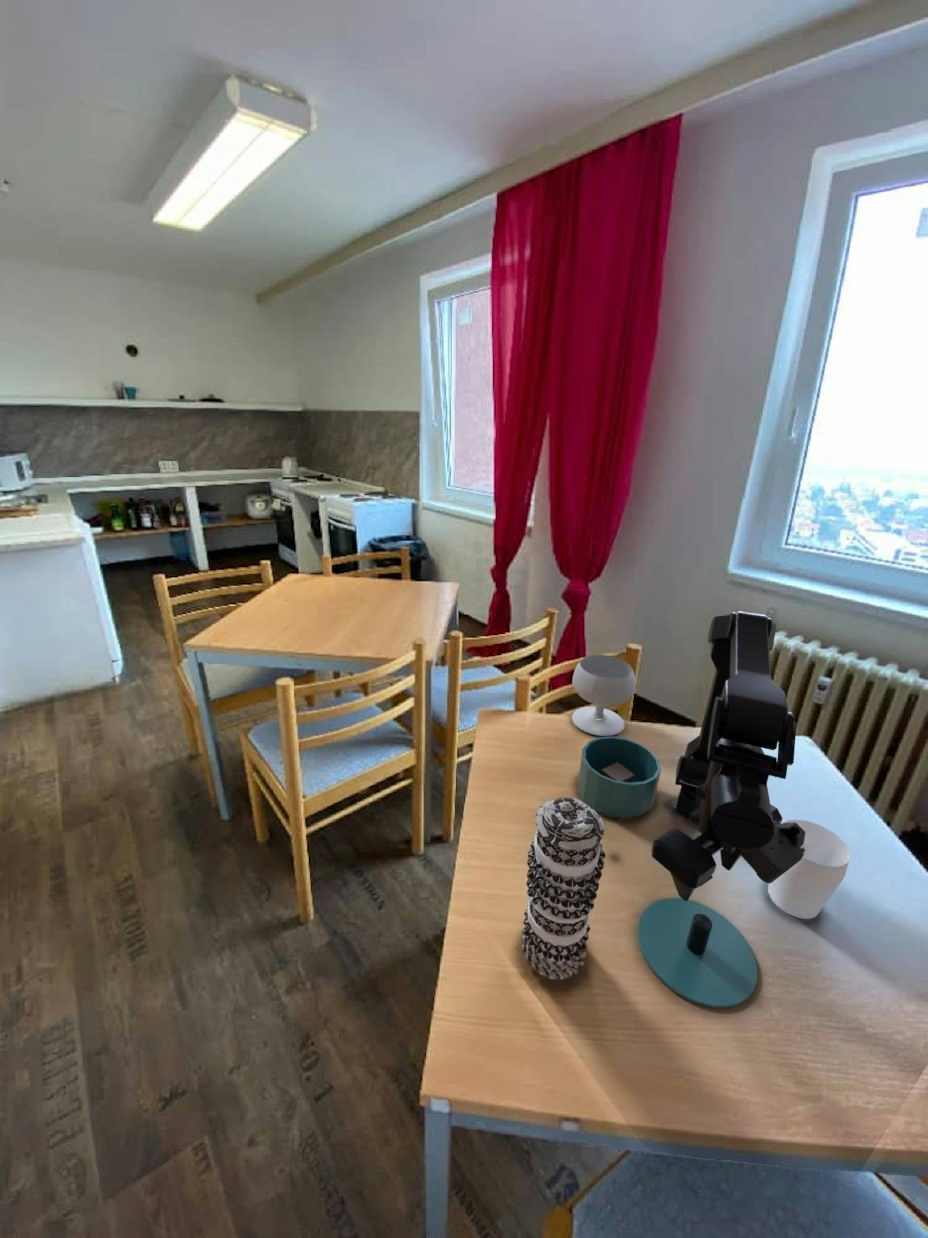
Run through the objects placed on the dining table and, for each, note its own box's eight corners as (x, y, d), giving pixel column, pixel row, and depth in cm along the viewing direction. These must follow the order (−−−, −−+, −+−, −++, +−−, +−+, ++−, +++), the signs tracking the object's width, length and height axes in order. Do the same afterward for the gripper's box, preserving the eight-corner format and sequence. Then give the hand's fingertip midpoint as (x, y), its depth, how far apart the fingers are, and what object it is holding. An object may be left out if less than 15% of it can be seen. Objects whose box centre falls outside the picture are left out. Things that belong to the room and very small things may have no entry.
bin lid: (681, 887, 81) (688, 858, 79) (778, 970, 70) (790, 939, 67) (613, 935, 74) (619, 904, 71) (710, 1037, 62) (721, 1005, 60)
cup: (817, 886, 82) (840, 828, 77) (834, 937, 74) (861, 875, 69) (754, 869, 85) (773, 812, 80) (764, 917, 77) (785, 857, 72)
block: (614, 780, 103) (617, 762, 102) (631, 793, 100) (635, 774, 98) (598, 787, 101) (601, 769, 100) (615, 801, 98) (619, 782, 96)
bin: (612, 760, 110) (617, 728, 107) (669, 801, 99) (676, 767, 96) (562, 784, 103) (566, 750, 100) (617, 830, 92) (624, 795, 89)
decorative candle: (598, 983, 67) (625, 837, 58) (529, 995, 66) (546, 847, 56) (572, 919, 76) (593, 782, 66) (511, 929, 74) (522, 790, 64)
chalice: (613, 747, 114) (622, 688, 108) (557, 724, 122) (563, 667, 116) (637, 720, 124) (647, 664, 118) (584, 700, 132) (591, 647, 126)
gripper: (752, 867, 51) (719, 972, 57) (842, 800, 61) (805, 896, 67) (659, 800, 60) (638, 897, 66) (750, 750, 69) (725, 839, 75)
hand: (705, 882), depth 68 cm, fingers open, 9 cm apart
